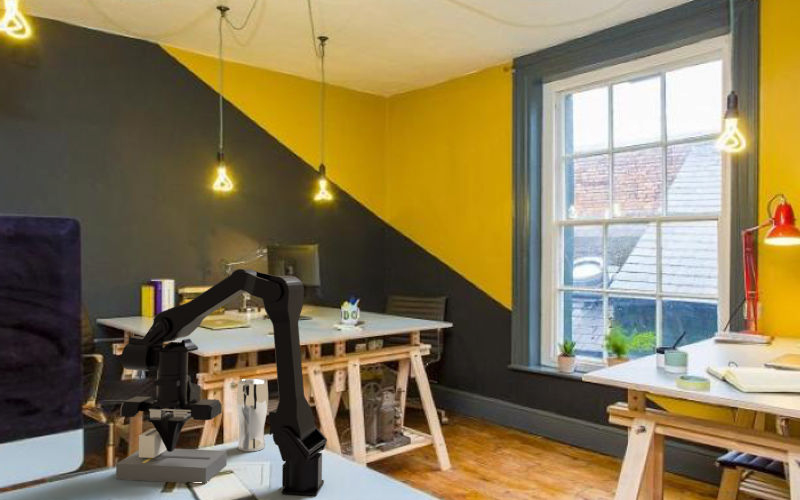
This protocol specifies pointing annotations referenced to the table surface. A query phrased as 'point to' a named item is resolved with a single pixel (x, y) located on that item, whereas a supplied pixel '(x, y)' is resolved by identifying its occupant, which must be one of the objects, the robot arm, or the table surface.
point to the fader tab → (150, 444)
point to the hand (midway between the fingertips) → (170, 451)
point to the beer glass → (252, 413)
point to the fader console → (173, 466)
